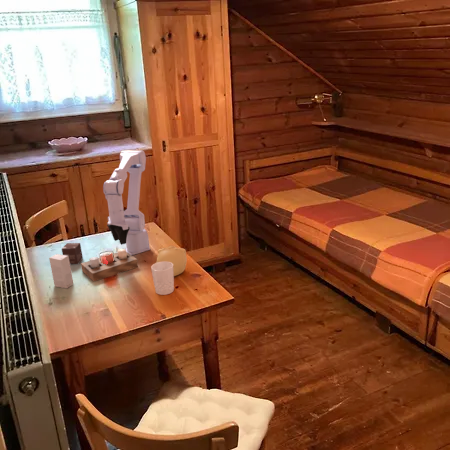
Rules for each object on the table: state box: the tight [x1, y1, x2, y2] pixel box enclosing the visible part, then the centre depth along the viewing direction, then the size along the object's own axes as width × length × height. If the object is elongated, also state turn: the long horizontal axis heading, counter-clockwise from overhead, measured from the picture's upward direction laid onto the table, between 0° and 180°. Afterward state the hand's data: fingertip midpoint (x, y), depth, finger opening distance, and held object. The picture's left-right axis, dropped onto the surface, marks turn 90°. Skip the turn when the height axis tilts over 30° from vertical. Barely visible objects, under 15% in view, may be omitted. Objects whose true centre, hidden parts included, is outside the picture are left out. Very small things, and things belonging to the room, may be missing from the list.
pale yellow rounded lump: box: [156, 245, 188, 277], centre depth 194 cm, size 12×12×11 cm
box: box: [61, 242, 83, 265], centre depth 209 cm, size 6×6×7 cm
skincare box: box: [49, 253, 74, 289], centre depth 188 cm, size 6×4×12 cm
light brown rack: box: [80, 252, 139, 282], centre depth 201 cm, size 19×12×4 cm, turn 127°
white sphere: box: [88, 256, 100, 269], centre depth 196 cm, size 4×4×4 cm
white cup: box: [150, 261, 175, 296], centre depth 180 cm, size 8×8×10 cm
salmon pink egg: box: [105, 252, 114, 264], centre depth 200 cm, size 4×4×4 cm
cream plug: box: [116, 248, 127, 260], centre depth 203 cm, size 4×4×4 cm
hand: (120, 241), depth 200 cm, fingers open, 5 cm apart
